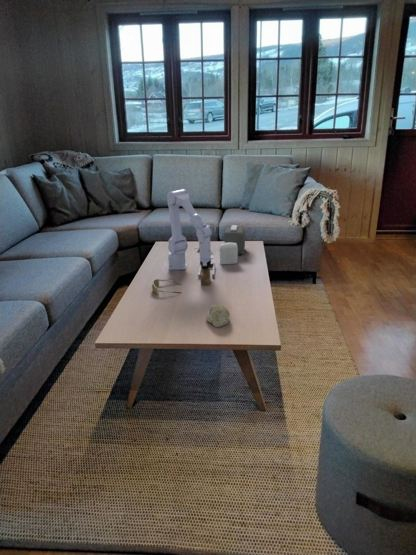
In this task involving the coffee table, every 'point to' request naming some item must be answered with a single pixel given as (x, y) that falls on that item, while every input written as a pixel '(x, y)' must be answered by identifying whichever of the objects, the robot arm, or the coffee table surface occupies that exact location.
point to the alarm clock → (235, 237)
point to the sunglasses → (156, 283)
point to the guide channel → (212, 266)
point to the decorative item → (218, 315)
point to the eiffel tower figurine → (199, 251)
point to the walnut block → (205, 277)
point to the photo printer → (228, 253)
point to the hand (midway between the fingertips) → (206, 273)
